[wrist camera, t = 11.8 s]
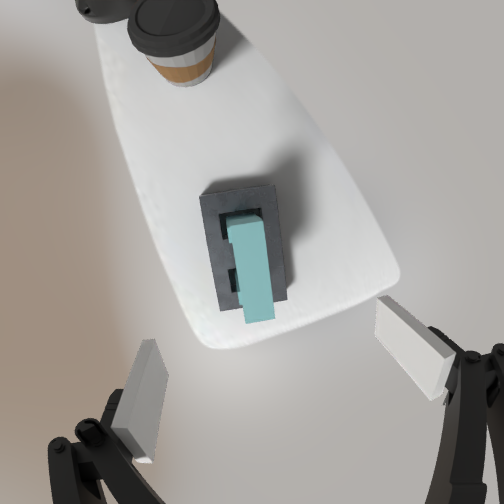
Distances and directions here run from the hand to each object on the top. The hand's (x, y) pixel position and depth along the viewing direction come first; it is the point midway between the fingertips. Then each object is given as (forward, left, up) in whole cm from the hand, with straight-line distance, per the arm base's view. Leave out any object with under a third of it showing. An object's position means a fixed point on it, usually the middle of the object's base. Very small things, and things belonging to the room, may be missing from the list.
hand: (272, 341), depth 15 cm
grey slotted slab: (0, 0, -23) cm, 23 cm away
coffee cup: (-25, -4, -23) cm, 34 cm away
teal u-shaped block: (0, 0, -23) cm, 23 cm away
